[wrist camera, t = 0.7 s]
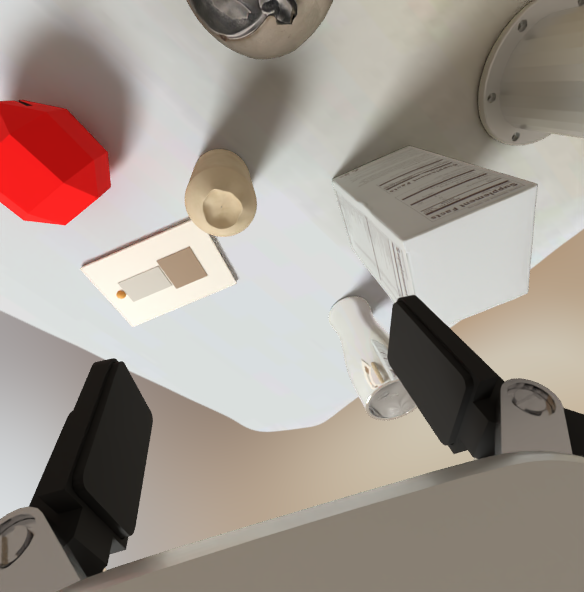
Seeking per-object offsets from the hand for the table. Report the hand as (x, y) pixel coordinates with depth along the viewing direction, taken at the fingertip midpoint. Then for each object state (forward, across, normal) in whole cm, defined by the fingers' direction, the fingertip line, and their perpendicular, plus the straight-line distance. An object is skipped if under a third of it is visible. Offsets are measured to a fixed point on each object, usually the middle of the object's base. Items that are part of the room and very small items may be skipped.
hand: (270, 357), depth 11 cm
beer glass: (+26, -13, +20) cm, 35 cm away
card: (+26, +9, +9) cm, 29 cm away
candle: (+26, +1, -1) cm, 26 cm away
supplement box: (+25, -16, +4) cm, 30 cm away
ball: (+26, +14, -4) cm, 30 cm away
